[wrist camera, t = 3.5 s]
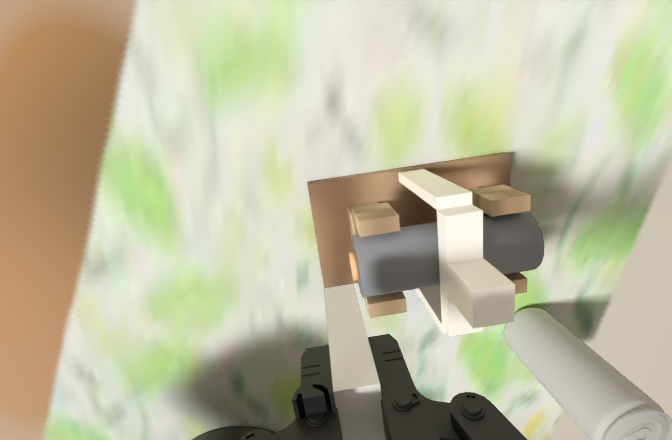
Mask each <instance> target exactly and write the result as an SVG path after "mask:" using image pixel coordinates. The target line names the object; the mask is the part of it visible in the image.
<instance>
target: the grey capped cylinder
mask: <svg viewBox="0 0 672 440" xmlns="http://www.w3.org/2000/svg"><path fill="white" fill-rule="evenodd" d="M352 245H353V252H351V253H349V259H350V266H351V272H352V277H353V281H356V280H358V283H359V287H360V291H361V295H362V297H368V296H375V295H381V294H387V293H393V292H399V291H405V290H412V289H418V288H424V287H430V286H436V285H440V272H439V250H438V228H437V222H432V223H426V224H419V225H413V226H407V227H400V231H397V232H391V233H384V234H378V235H371V236H365V237H360V235H359V234H355V235H352ZM543 256H544V241H543V236H542V233H541V230H540V227H539V225H538V223H537V222H536V220H535V219H534V217H533V216H532V215H531V214H530V213H529V212H527V211H525V212H519V213H512V214H506V215H500V216H493V217H491V216H490V215H488V214H484V215H483V258H484V259H485V260H486V261H487V262H489V263H490V264H491V265H492V266H493V267H495V268H496V269H497V270H498V271H499V272H501V273H502V274H503V275H504V274H510V273H516V272H522V271H528V270H534V269H536V268H537V267H539V265H540V264H541V262H542V260H543Z"/></svg>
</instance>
